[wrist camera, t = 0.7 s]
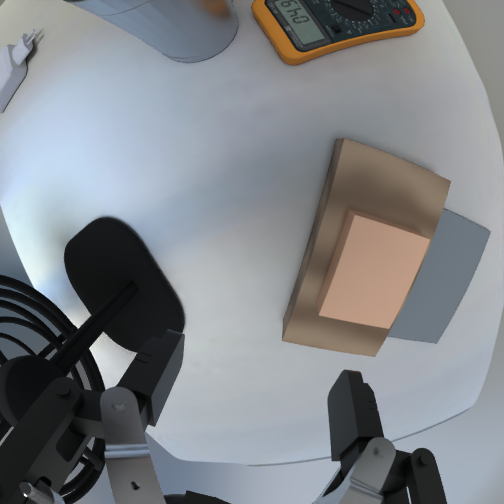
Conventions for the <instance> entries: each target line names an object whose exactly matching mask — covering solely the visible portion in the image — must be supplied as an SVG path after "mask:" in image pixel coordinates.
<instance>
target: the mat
mask: <svg viewBox="0 0 504 504" xmlns="http://www.w3.org/2000/svg"><path fill="white" fill-rule="evenodd" d="M490 233H491V231H489V230H487V229H485V228H483V227H481V226H479V225H477V224H475V223H473V222H471V221H469V220H467V219H465V218H463V217H461V216H459V215H457V214H455V213H452V212H450V211H448V210H446V209H443V210H442V214H441V217H440V220H439V223H438V225H437V228H436V231H435V234H434V237H433V239H432V242H431V245H430V247H429V250H428V252H427V255H426V257H425V260H424V262H423V265H422V267H421V269H420V272H419V274H418V276H417V278H416V281H415V283H414V285H413V287H412V289H411V291H410V293H409V296H408V298H407V300H406V302H405V304H404V306H403V308H402V310H401V312H400V313H399V315H398V317H397V319H396V321H395V323H394V325H393V327H392V328H391V330H390V332H389V334H388V336H387V337H393V338H399V339H406V340H413V341H420V342H428V343H436V344H437V342H438V341H439V339H440V338H441V336H442V334H443V333H444V331H445V329H446V328H447V326H448V324H449V323H450V321H451V319H452V317H453V315H454V314H455V312H456V310H457V308H458V306H459V304H460V302H461V300H462V299H463V297H464V295H465V293H466V290H467V288H468V286H469V284H470V282H471V280H472V278H473V276H474V273H475V271H476V269H477V266H478V264H479V262H480V259H481V257H482V254H483V252H484V249H485V246H486V244H487V241H488V238H489V236H490Z"/></svg>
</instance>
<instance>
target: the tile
mask: <svg viewBox="0 0 504 504" xmlns="http://www.w3.org/2000/svg"><path fill="white" fill-rule="evenodd" d="M429 241H430V239H429V238H427V237H426V236H425V235H423V234H422V233H421V232H419V231H417V230H414V229H411V228H408V227H405V226H403V225H400V224H397V223H394V222H391V221H388V220H385V219H382V218H378V217H375V216H372V215H369V214H366V213H363V212H359V211H356V210H353V209H349V208H348V211H347V214H346V217H345V221H344V224H343V227H342V230H341V233H340V236H339V239H338V242H337V245H336V248H335V251H334V254H333V257H332V260H331V263H330V266H329V269H328V272H327V274H326V277H325V280H324V283H323V285H322V288H321V291H320V293H319V296H318V299H317V301H316V302H317V309H318V315H319V316H324V317H329V318H334V319H339V320H344V321H349V322H354V323H359V324H365V325H370V326H376V327H381V328H387V329H389V328H390V326H391V324H392V323H393V321H394V319H395V317H396V315H397V313H398V311H399V309H400V307H401V305H402V303H403V301H404V299H405V297H406V295H407V293H408V291H409V289H410V287H411V284H412V282H413V280H414V278H415V276H416V273H417V271H418V269H419V266H420V264H421V262H422V259H423V257H424V254H425V252H426V249H427V247H428V244H429Z"/></svg>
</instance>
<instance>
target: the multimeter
mask: <svg viewBox="0 0 504 504" xmlns="http://www.w3.org/2000/svg"><path fill="white" fill-rule="evenodd" d="M251 8H252V11H253V15H254V17H255V19H256V20H257V22H258V23H259V25H260V26H261V28H262V29H263V31H264V32H265V34H266V35H267V37H268V38H269V40H270V41H271V43H272V44H273V46H274V47H275V49H276V51H277V52H278V54H279V56H280V57H281V59H282V60H283V61H284V62H285V63H287V64H290V65H298V64H301V63H303V62H306V61H308V60H311V59H314V58H316V57H319V56H322V55H324V54H327V53H330V52H333V51H336V50H340V49H343V48H347V47H350V46H354V45H358V44H362V43H366V42H370V41H375V40H380V39H386V38H392V37H399V36H406V35H411V34H414V33H416V32H417V31H419V30H420V29H421V28H422V27H423V26H424V23H425V19H424V15H423V13H422V11H421V9H420V8H419V7H418V5H417V4H416V2H415V1H414V0H255V1H254V2H253V3H252V6H251Z"/></svg>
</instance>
